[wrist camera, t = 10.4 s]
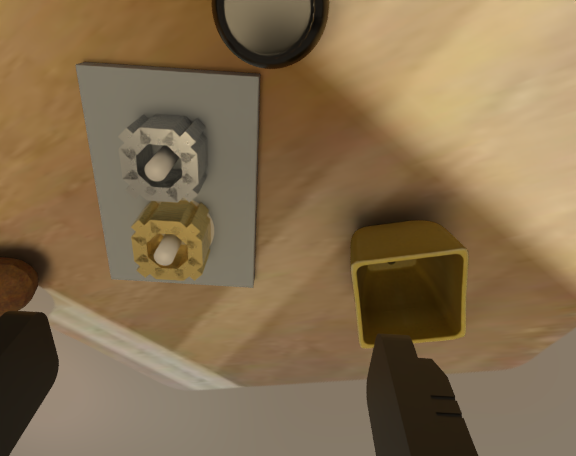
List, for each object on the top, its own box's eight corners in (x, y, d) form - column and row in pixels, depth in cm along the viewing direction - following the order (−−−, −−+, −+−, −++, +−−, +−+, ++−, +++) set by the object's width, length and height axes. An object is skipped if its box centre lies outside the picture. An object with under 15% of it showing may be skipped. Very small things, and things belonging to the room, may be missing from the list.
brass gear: (209, 202, 38) (201, 223, 35) (211, 257, 41) (203, 282, 37) (144, 197, 38) (128, 218, 34) (150, 253, 41) (136, 277, 37)
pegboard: (260, 73, 34) (252, 89, 29) (254, 278, 44) (248, 321, 38) (84, 62, 34) (41, 75, 28) (117, 270, 44) (89, 312, 38)
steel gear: (206, 117, 34) (196, 131, 31) (208, 184, 37) (199, 203, 34) (134, 112, 34) (115, 126, 31) (141, 179, 37) (125, 199, 34)
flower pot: (339, 210, 40) (350, 263, 32) (435, 197, 39) (470, 248, 31) (348, 286, 44) (359, 350, 36) (435, 275, 43) (466, 338, 35)
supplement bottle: (271, 72, 34) (260, 107, 24) (210, -2, 32) (167, 1, 21) (340, 9, 32) (361, 17, 21) (280, -75, 30) (270, -113, 19)
